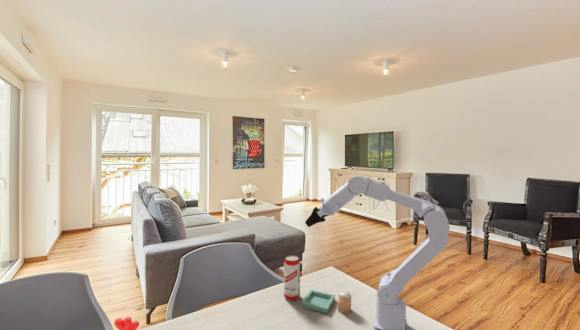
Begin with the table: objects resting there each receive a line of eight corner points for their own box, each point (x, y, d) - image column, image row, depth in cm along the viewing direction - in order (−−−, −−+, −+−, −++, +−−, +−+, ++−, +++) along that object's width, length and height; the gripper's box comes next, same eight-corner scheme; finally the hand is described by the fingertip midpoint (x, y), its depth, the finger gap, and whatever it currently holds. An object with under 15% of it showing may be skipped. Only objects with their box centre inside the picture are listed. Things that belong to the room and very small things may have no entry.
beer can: (298, 302, 106) (298, 261, 105) (282, 300, 107) (282, 260, 106) (301, 293, 112) (301, 255, 111) (285, 292, 113) (285, 254, 112)
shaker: (352, 308, 102) (352, 292, 102) (349, 315, 98) (349, 298, 98) (339, 305, 104) (340, 289, 104) (336, 312, 100) (337, 295, 99)
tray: (334, 300, 108) (334, 295, 108) (327, 314, 99) (327, 309, 98) (310, 294, 112) (310, 289, 112) (301, 307, 103) (301, 302, 103)
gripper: (336, 188, 105) (310, 208, 110) (324, 194, 92) (296, 217, 96) (348, 202, 103) (321, 223, 108) (338, 211, 90) (308, 234, 95)
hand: (310, 221), depth 102 cm, fingers open, 7 cm apart
